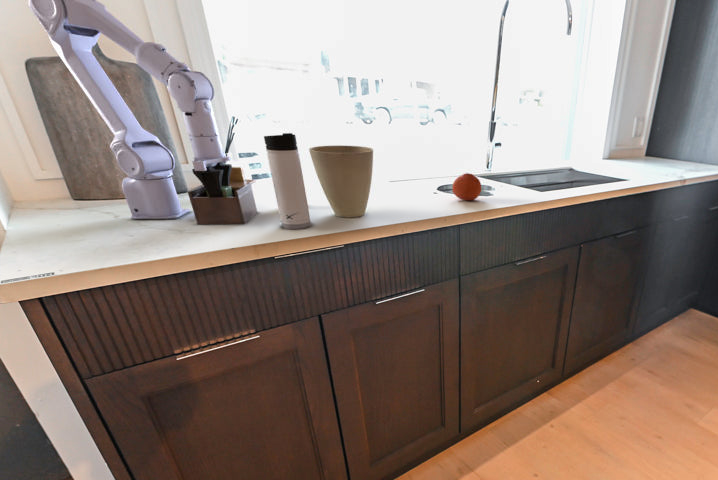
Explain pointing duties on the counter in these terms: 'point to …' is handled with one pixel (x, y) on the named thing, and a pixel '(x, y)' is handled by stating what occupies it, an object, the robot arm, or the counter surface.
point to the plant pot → (344, 177)
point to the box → (223, 206)
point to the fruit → (467, 187)
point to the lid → (238, 178)
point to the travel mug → (288, 180)
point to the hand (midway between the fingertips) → (221, 199)
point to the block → (226, 191)
